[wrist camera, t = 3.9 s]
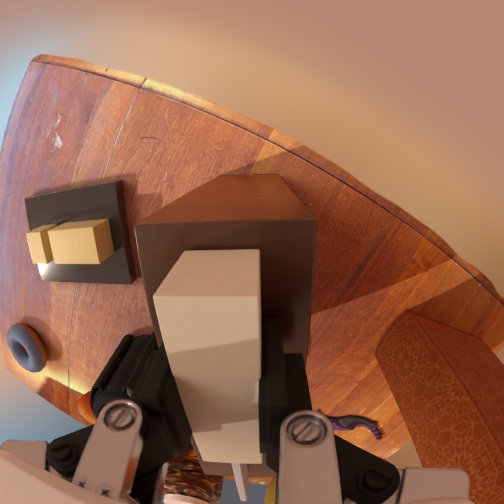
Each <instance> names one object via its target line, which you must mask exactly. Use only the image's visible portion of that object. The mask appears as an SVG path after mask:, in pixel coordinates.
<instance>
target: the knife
mask: <svg viewBox="0 0 504 504" xmlns="http://www.w3.org/2000/svg"><path fill="white" fill-rule="evenodd" d="M317 412H319V410H318V411H317ZM328 419H329V420H330V421H331V424H332V426H333V430H353V429H354V428H355V427H358V426H363V427H366V428H368V429H370V430H371V431H372V433H373V434H374V435H375V437H376V439H377V440H381V439H382V436H381V434H380V432H379V431H378V429H377V428H376V424H377V423H378V422H371V421H369V420H367V419H365V418H360V417H354V416H347V417H344V418H337V419H333V418H328Z"/></svg>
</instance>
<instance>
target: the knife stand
mask: <svg viewBox="0 0 504 504" xmlns="http://www.w3.org/2000/svg"><path fill="white" fill-rule="evenodd" d="M134 232H135V239H136V245H137V251H138V257H139V263H140V268H141V274H142V279H143V284H144V289H145V293H146V298H147V302H148V307H149V311H150V315H151V320H152V324H153V328H154V332H155V335H156V339H157V343H158V347H159V348H160V346H161V343H162V341H163V338H162V334H161V330H160V326H159V322H158V317H157V313H156V309H155V304H154V299H153V295H154V294H155V292H156V291H157V289H158V288H159V287H160V285H161V284H162V282H163V281H164V279H165V278H166V276H167V275H168V274H169V272H170V271H171V269H172V268H173V266H174V265H175V264H176V262H177V261H178V259H179V258H180V257H181V255H182V254H183V252H184V251H198V250H245V249H259V250H260V281H261V323H265V319H280V321H281V330H282V340H283V351H284V353H302V354H303V358H304V364H305V368H306V360H307V351H308V341H309V331H310V321H311V309H312V297H313V283H314V266H315V247H316V219H315V218H314V217H313V216H312V214H311V213H310V212H309V211H308V209H307V208H306V207H305V206H304V205H303V203H302V202H301V201H300V200H299V199H298V197H297V196H296V195H295V194H294V193H293V191H292V190H291V189H290V188H289V187H288V186H287V184H286V183H285V182H284V181H283V180H282V179H281V178H280V176H279V175H278V174H250V175H224V176H218V177H216V178H214V179H212V180H210V181H208V182H207V183H205V184H203V185H201V186H199V187H198V188H196V189H194V190H192V191H190V192H189V193H187V194H185V195H183V196H182V197H180V198H178V199H177V200H175V201H173V202H171V203H170V204H168V205H166V206H165V207H163V208H161V209H160V210H158V211H156V212H155V213H153V214H152V215H150V216H148V217H147V218H145V219H143V220H142V221H140V222H139V223H137V224H136V225H134ZM191 444H192V446H193V449H194V451H195V453H196V456H197V458H198V460H199V463H200V465H201V467H202V469H203V472H204V474H208V475H219V476H234V472H233V468H232V464H231V463H221V462H209V461H203V459H202V457H201V454H200V452H199V449H198V447H197V444H196V442H195V439H194V436H193V434H192V436H191ZM247 467H248V477H276V472H274V471H273V470H272V469H270V468H269V467H268V466H266V453H262V464H247Z"/></svg>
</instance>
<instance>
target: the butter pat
mask: <svg viewBox="0 0 504 504" xmlns="http://www.w3.org/2000/svg"><path fill="white" fill-rule="evenodd" d="M55 227H57V224H51V225H42V226H40V227H38V228H36V229H34V230H32V231H29V232H27V233H26V236H27V241H28V245H29V250H30V254H31V258H32V262H33V264H48V263H49V262H51V261H52V260H54V258H53V254H52V249H51V245H50V240H49V235H48V231H49V230H51V229H53V228H55Z"/></svg>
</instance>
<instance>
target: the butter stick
mask: <svg viewBox="0 0 504 504" xmlns="http://www.w3.org/2000/svg"><path fill="white" fill-rule="evenodd" d="M48 235H49V240H50V245H51V249H52V254H53V258H54V262H55V264H100V263H102V262H103V261H104V260H105V259H107V258H108V257H109V256H111V255H112V254H113V253H114V248H113V242H112V237H111V231H110V224H109V219H100V220H89V221H79V222H69V223H63V224H61V225H59V226H57V227H55V228H53V229H51V230H49V231H48Z"/></svg>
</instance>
